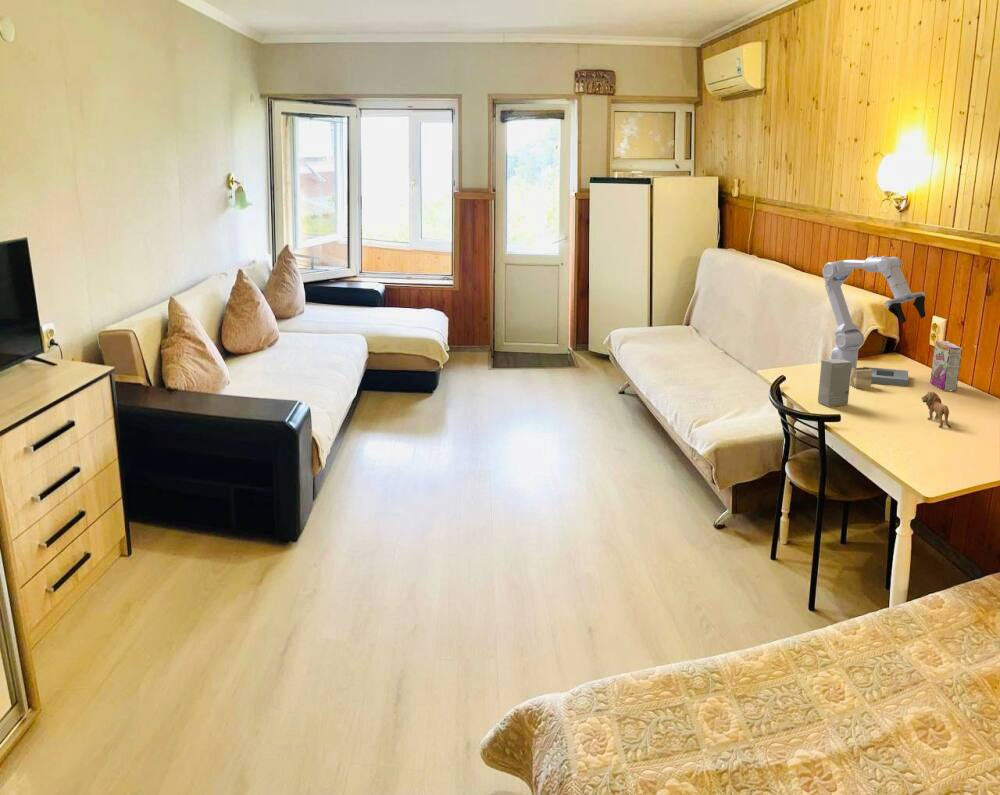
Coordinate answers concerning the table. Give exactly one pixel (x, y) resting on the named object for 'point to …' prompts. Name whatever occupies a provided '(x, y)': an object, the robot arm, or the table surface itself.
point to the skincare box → (834, 382)
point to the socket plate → (889, 376)
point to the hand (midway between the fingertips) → (913, 319)
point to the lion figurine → (936, 408)
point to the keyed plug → (861, 377)
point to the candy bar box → (946, 365)
